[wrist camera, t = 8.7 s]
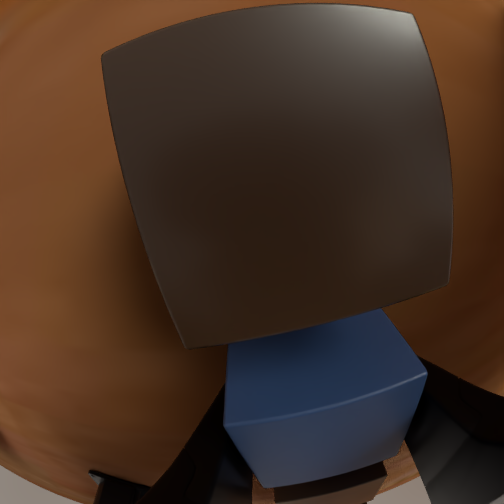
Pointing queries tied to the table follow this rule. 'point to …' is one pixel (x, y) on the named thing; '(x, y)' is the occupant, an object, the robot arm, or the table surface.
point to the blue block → (321, 398)
